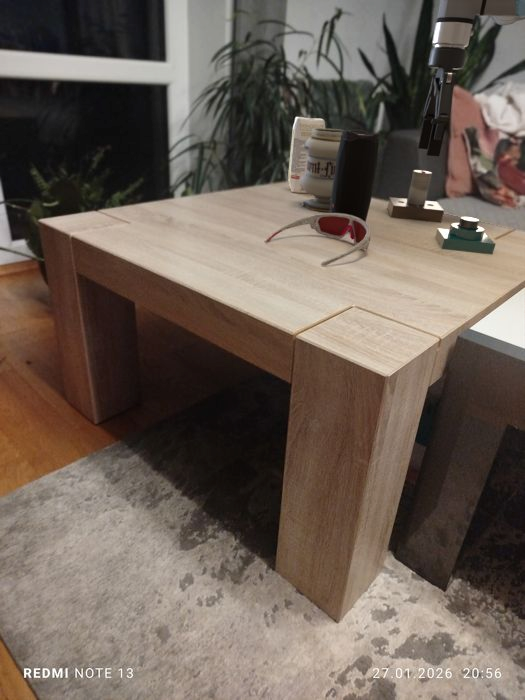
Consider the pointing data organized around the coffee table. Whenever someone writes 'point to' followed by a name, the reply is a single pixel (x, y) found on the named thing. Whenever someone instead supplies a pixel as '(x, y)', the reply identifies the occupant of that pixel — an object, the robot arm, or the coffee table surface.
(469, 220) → the grey short cylinder
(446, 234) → the green stepped pedestal
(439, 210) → the brown block with holes
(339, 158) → the portable speaker
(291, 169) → the white carton
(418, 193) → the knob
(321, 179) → the apothecary jar
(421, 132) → the robot arm
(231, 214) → the coffee table surface
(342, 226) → the sunglasses
